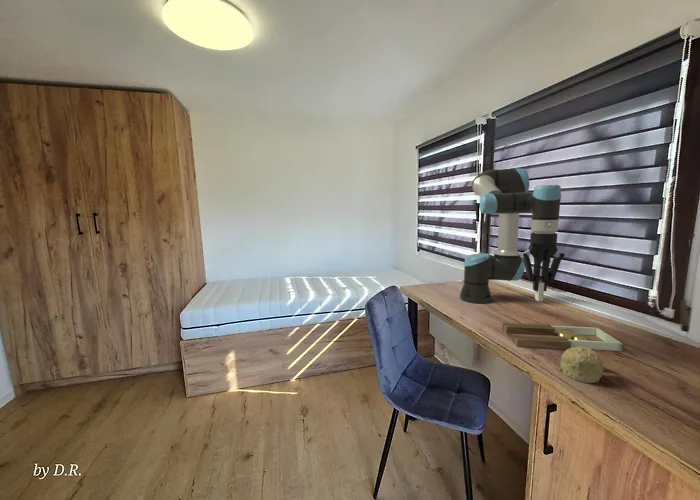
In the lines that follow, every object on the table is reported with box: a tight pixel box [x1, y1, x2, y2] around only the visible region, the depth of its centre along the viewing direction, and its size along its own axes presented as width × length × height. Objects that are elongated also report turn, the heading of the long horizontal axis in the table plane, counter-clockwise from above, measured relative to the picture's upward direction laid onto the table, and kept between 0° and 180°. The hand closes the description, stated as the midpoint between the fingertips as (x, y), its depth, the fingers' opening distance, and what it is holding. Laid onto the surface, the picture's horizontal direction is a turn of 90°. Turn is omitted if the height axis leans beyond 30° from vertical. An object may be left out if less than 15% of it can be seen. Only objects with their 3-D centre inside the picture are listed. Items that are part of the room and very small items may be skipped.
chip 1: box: [561, 329, 576, 335], centre depth 105 cm, size 4×4×2 cm
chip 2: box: [557, 331, 573, 340], centre depth 102 cm, size 4×4×2 cm
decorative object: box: [560, 346, 604, 384], centre depth 83 cm, size 9×10×10 cm
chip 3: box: [572, 334, 588, 341], centre depth 100 cm, size 4×4×2 cm
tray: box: [551, 325, 623, 352], centre depth 101 cm, size 13×15×4 cm
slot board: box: [501, 321, 571, 351], centre depth 104 cm, size 15×16×4 cm
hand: (538, 299), depth 102 cm, fingers closed
